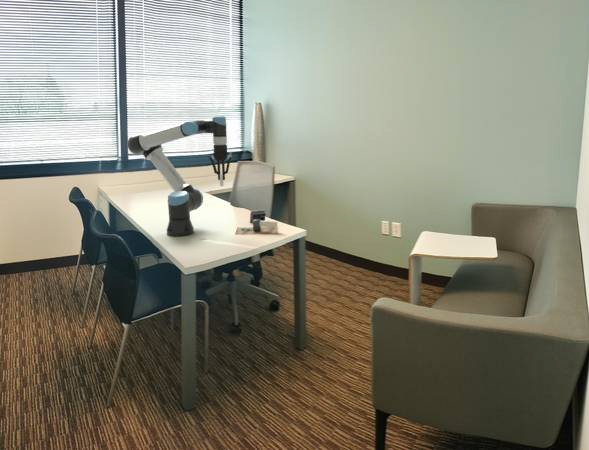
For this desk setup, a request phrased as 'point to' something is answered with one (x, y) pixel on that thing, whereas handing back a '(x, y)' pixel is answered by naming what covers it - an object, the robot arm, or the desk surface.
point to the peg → (261, 224)
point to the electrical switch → (257, 215)
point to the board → (250, 231)
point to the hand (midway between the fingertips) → (221, 185)
